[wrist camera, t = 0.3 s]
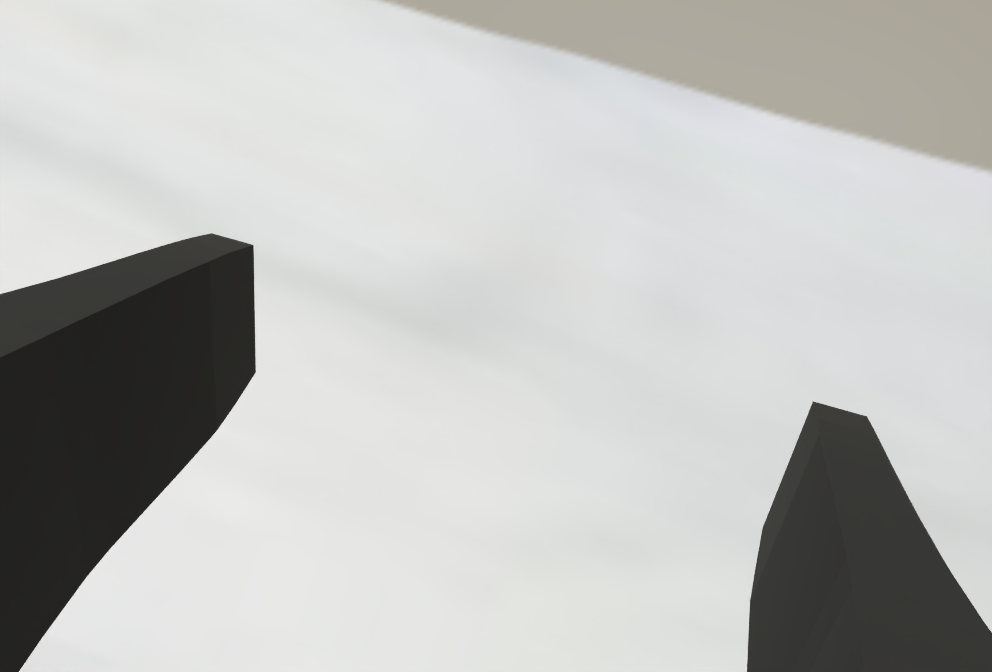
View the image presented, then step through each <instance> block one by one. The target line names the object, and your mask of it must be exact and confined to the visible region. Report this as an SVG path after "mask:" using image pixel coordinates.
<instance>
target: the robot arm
mask: <svg viewBox="0 0 992 672" xmlns="http://www.w3.org/2000/svg"><path fill="white" fill-rule="evenodd" d="M255 372H256V370H255V311H254V253H253V245H251V244H247V243H244V242H240V241H237V240H233V239H229V238H226V237H222V236H219V235H215V234H207V235H202V236H197V237H193V238H189V239H185V240H181V241H178V242H174V243H171V244H167V245H164V246H161V247H157V248H154V249H151V250H148V251H144V252H141V253H138V254H135V255H132V256H128V257H125V258H122V259H119V260H116V261H112V262H109V263H106V264H103V265H100V266H96V267H93V268H90V269H87V270H84V271H80V272H77V273H74V274H71V275H67V276H64V277H61V278H58V279H54V280H50V281H47V282H43V283H40V284H36V285H32V286H29V287H25V288H21V289H18V290H14V291H11V292H7V293H3V294H0V672H19V670H20V669H21V668H22V666H23V665H24V663H25V662H26V660H27V659H28V657H29V656H30V654H31V653H32V652H33V650H34V649H35V647H36V646H37V644H38V643H39V641H40V640H41V638H42V637H43V636H44V634H45V633H46V631H47V630H48V629H49V627H50V626H51V625H52V623H53V622H54V621H55V619H56V618H57V616H58V615H59V614H60V612H61V611H62V610H63V608H64V607H65V606H66V604H67V603H68V601H69V600H70V599H71V597H72V596H73V595H74V593H75V592H76V590H77V589H78V588H79V586H80V585H81V584H82V582H83V581H84V580H85V578H86V577H87V576H88V574H89V573H90V572H91V571H92V570H93V568H94V567H95V566H96V565H97V564H98V562H99V561H100V560H101V559H102V558H103V556H104V555H105V554H106V553H107V552H108V550H109V549H110V548H111V547H112V546H113V545H114V544H115V543H116V542H117V540H118V539H119V538H120V537H121V536H122V535H123V534H124V533H125V532H126V531H127V530H128V528H129V527H130V526H131V525H132V524H133V523H134V522H135V521H136V520H137V519H138V517H139V516H140V515H141V514H142V513H143V512H144V511H145V510H146V509H147V508H148V507H149V505H150V504H151V503H152V502H153V501H154V500H155V499H156V498H157V497H158V496H159V494H160V493H161V492H162V491H163V490H164V489H165V488H166V487H167V486H168V485H169V484H170V482H171V481H172V480H173V479H174V478H175V477H176V476H177V475H178V474H179V473H180V471H181V470H182V469H183V468H184V467H185V466H186V465H187V464H188V463H189V461H190V460H191V459H192V458H193V457H194V456H195V455H196V454H197V452H198V451H199V450H200V449H201V448H202V447H203V446H204V445H205V443H206V442H207V441H208V440H209V439H210V438H211V437H212V435H213V434H214V433H215V432H216V431H217V430H218V428H219V427H220V425H221V424H222V422H223V421H224V419H225V418H226V417H227V415H228V414H229V412H230V411H231V409H232V408H233V407H234V405H235V404H236V402H237V401H238V399H239V397H240V396H241V394H242V393H243V391H244V390H245V388H246V386H247V385H248V383H249V382H250V380H251V379H252V377H253V376H254V374H255ZM747 672H992V633H991V631H990V630H989V629H988V627H987V626H986V624H985V623H984V621H983V620H982V619H981V617H980V616H979V614H978V613H977V611H976V609H975V608H974V606H973V605H972V603H971V602H970V600H969V599H968V597H967V596H966V594H965V593H964V591H963V590H962V588H961V587H960V585H959V584H958V582H957V581H956V579H955V578H954V576H953V575H952V573H951V571H950V570H949V568H948V567H947V565H946V563H945V562H944V560H943V558H942V556H941V555H940V553H939V551H938V550H937V548H936V546H935V544H934V543H933V541H932V539H931V537H930V536H929V534H928V532H927V530H926V529H925V527H924V525H923V523H922V522H921V520H920V518H919V516H918V514H917V513H916V511H915V509H914V507H913V505H912V503H911V501H910V500H909V498H908V496H907V494H906V492H905V490H904V488H903V486H902V484H901V482H900V480H899V478H898V476H897V475H896V473H895V471H894V469H893V467H892V465H891V463H890V461H889V459H888V457H887V455H886V453H885V451H884V449H883V447H882V445H881V443H880V441H879V439H878V437H877V435H876V433H875V431H874V429H873V427H872V425H871V423H870V421H869V420H868V418H867V416H863V415H859V414H856V413H852V412H849V411H845V410H841V409H838V408H834V407H831V406H827V405H824V404H820V403H816V402H813V403H812V406H811V408H810V411H809V413H808V416H807V418H806V421H805V423H804V426H803V428H802V431H801V433H800V436H799V438H798V441H797V443H796V446H795V448H794V451H793V453H792V456H791V458H790V461H789V463H788V466H787V468H786V471H785V473H784V476H783V478H782V481H781V483H780V486H779V488H778V491H777V493H776V496H775V499H774V501H773V504H772V506H771V509H770V511H769V514H768V516H767V519H766V521H765V524H764V526H763V530H762V535H761V541H760V547H759V552H758V558H757V563H756V569H755V575H754V581H753V588H752V594H751V600H750V617H749V639H748V663H747Z"/></svg>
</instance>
